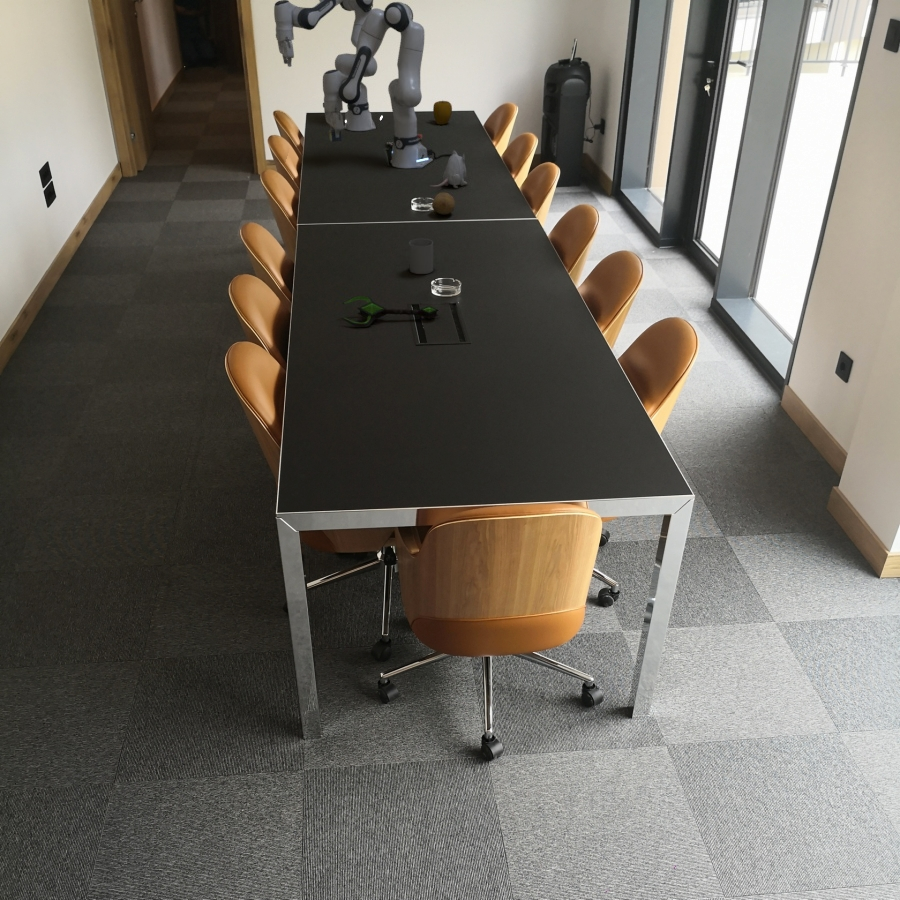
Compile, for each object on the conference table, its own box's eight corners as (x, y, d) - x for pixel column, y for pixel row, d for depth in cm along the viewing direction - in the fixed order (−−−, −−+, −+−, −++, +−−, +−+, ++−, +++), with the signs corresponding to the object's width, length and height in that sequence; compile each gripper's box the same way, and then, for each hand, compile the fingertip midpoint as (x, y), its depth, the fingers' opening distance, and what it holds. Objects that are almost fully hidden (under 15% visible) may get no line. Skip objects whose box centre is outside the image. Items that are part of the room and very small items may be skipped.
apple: (451, 126, 500) (451, 102, 493) (433, 126, 500) (432, 102, 493) (452, 121, 509) (452, 98, 502) (433, 121, 509) (433, 98, 502)
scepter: (438, 291, 273) (342, 288, 271) (439, 321, 266) (340, 319, 264) (437, 304, 278) (343, 302, 276) (438, 334, 271) (341, 332, 269)
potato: (453, 208, 369) (453, 189, 365) (456, 218, 357) (456, 199, 353) (431, 208, 368) (430, 189, 364) (432, 218, 356) (432, 199, 352)
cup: (409, 265, 311) (408, 238, 306) (432, 265, 312) (431, 238, 307) (410, 274, 304) (409, 246, 299) (433, 273, 305) (433, 246, 299)
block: (332, 141, 424) (331, 132, 421) (329, 139, 427) (329, 130, 425) (341, 140, 425) (340, 131, 423) (339, 138, 429) (338, 129, 426)
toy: (472, 184, 399) (472, 151, 391) (436, 195, 384) (436, 161, 376) (457, 180, 404) (458, 147, 396) (422, 191, 389) (421, 157, 381)
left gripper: (295, 38, 438) (298, 67, 446) (286, 33, 454) (289, 61, 462) (283, 38, 436) (285, 68, 444) (274, 33, 452) (277, 62, 460)
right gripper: (345, 110, 411) (347, 140, 418) (334, 101, 427) (336, 131, 434) (332, 111, 409) (335, 141, 416) (321, 102, 425) (323, 132, 432)
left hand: (287, 65), depth 453 cm, fingers open, 8 cm apart
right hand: (335, 136), depth 425 cm, fingers closed on block, 4 cm apart
